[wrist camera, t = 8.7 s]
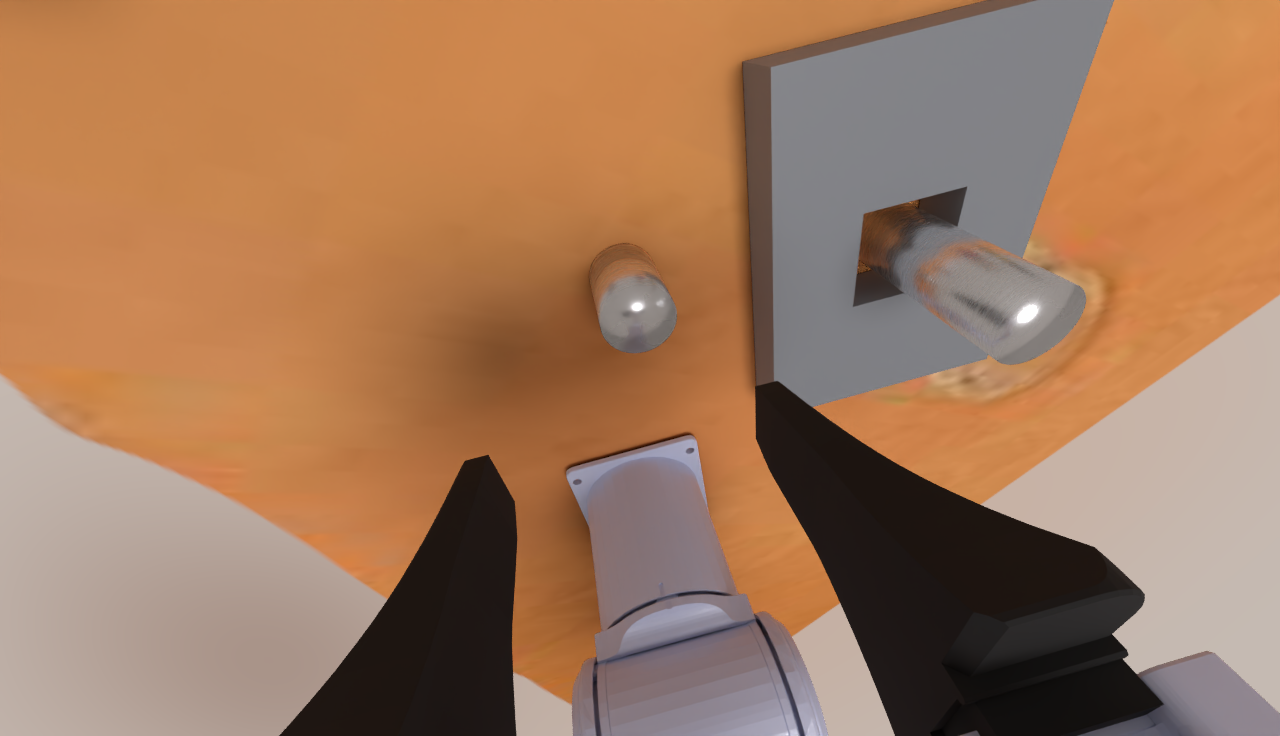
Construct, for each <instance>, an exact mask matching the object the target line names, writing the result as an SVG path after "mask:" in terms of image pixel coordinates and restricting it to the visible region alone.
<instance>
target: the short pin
mask: <svg viewBox="0 0 1280 736" xmlns="http://www.w3.org/2000/svg"><path fill="white" fill-rule="evenodd" d="M589 280H590V285H591V289H592V293H593V298H594V302H595V306H596V311H597V315H598V320H599V324H600V328H601V332H602V335H603V337H604V338H605V340H606V341H607V342H608V343H609V344H610V345H611V346H612V347H614V348H616V349H618V350H620V351H623V352H627V353H641V352H646V351H649V350H652V349H654V348H656V347H658V346H659V345H661V344H662V343H663V342H664V341H665V340H667V338H668V337H669V336H670V335H671V333H672V332H673V330H674V327H675V325H676V320H677V310H676V306H675V304H674V302H673V300H672V298H671V296H670V294H669V292H668V290H667V288H666V286H665V284H664V282H663V280H662V278H661V276H660V274H659V272H658V270H657V268H656V266H655V264H654V262H653V260H652V259H651V257H650V255H649V254H648V253H647V252H646V251H645V250H643V249H642V248H640V247H638V246H636V245H633V244H625V243H623V244H616V245H613V246H610V247H608V248H606V249H604V250H603V251H602V252H600V253H599V254H598V255H597V257H596V258H595V259H594V261H593V263H592V265H591V268H590V273H589Z"/></svg>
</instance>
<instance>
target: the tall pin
mask: <svg viewBox="0 0 1280 736" xmlns="http://www.w3.org/2000/svg"><path fill="white" fill-rule="evenodd" d="M858 260H860V261H861V262H862V263H864V264H865V265H866V266H868V267H869V268H871V269H872V270H873V271H875V272H876V273H877V274H879V275H880V276H882V277H883V278H884V279H886V280H887V281H888V282H890V283H891V284H892V285H894V286H895V287H897V288H898V289H899V290H901V291H902V292H903V293H905V294H906V295H908V296H909V297H910V298H912V299H913V300H914V301H916V302H917V303H918V304H920V305H921V306H923V307H924V308H925V309H927V310H928V311H929V312H931V313H932V314H934V315H935V316H936V317H938V318H939V319H940V320H942V321H943V322H944V323H946V324H947V325H949V326H950V327H951V328H953V329H954V330H955V331H957V332H958V333H960V334H961V335H962V336H964V337H965V338H966V339H968V340H969V341H971V342H972V343H973V344H975V345H976V346H977V347H979V348H980V349H981V350H983V351H984V352H986V353H987V354H988V355H990V356H991V357H992V358H994V359H995V360H997V361H998V362H1000V363H1002V364H1008V365H1011V364H1019V363H1023V362H1026V361H1029V360H1032V359H1034V358H1036V357H1038V356H1040V355H1042V354H1043V353H1045V352H1047V351H1048V350H1050V349H1051V348H1052V347H1054V346H1055V345H1056V344H1058V343H1059V342H1060V341H1061V340H1062V339H1063V338H1064V337H1065V336H1066V335H1067V334H1068V333H1069V332H1070V331H1071V330H1072V329H1073V327H1074V326H1075V325H1076V323H1077V322H1078V320H1079V319H1080V317H1081V315H1082V313H1083V310H1084V308H1085V304H1086V295H1085V292H1084V290H1083V289H1082V288H1081V287H1080V286H1078V285H1076V284H1074V283H1072V282H1070V281H1068V280H1066V279H1064V278H1062V277H1060V276H1058V275H1056V274H1054V273H1052V272H1049V271H1047V270H1045V269H1043V268H1041V267H1039V266H1037V265H1035V264H1033V263H1031V262H1029V261H1027V260H1025V259H1023V258H1021V257H1019V256H1016V255H1014V254H1012V253H1010V252H1008V251H1006V250H1004V249H1002V248H1000V247H998V246H996V245H994V244H992V243H990V242H988V241H986V240H983V239H981V238H979V237H977V236H975V235H973V234H971V233H969V232H967V231H965V230H963V229H961V228H959V227H957V226H955V225H953V224H950V223H948V222H946V221H944V220H942V219H940V218H938V217H936V216H934V215H932V214H930V213H928V212H926V211H924V210H922V209H920V208H917V207H915V206H913V205H911V204H909V203H907V202H906V203H903V204H899V205H895V206H891V207H887V208H884V209H880V210H876V211H872V212H868V213H865V214H864V215H863V224H862V232H861V241H860V250H859V258H858Z"/></svg>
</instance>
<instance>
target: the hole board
mask: <svg viewBox="0 0 1280 736" xmlns="http://www.w3.org/2000/svg"><path fill="white" fill-rule="evenodd" d="M1113 2H1114V0H987V1H983V2H979V3H975V4H971V5H967V6H963V7H959V8H955V9H951V10H947V11H943V12H939V13H935V14H931V15H927V16H923V17H919V18H915V19H911V20H907V21H903V22H899V23H895V24H891V25H887V26H883V27H879V28H875V29H871V30H867V31H863V32H859V33H855V34H851V35H847V36H843V37H839V38H835V39H831V40H827V41H823V42H819V43H815V44H811V45H807V46H803V47H799V48H795V49H791V50H787V51H783V52H779V53H775V54H771V55H767V56H763V57H759V58H755V59H751V60H747V61H743V83H744V106H745V130H746V154H747V177H748V201H749V225H750V249H751V272H752V296H753V320H754V343H755V367H756V386H758V385H762V384H766V383H770V382H774V381H779V382H780V383H782V384H783V385H784V386H786V387H787V388H788V389H789V390H791V391H792V392H793V393H794V394H796V395H797V396H798V397H800V398H801V399H802V400H803V401H805V402H806V403H807V404H809V405H810V406H811V407H814V406H818V405H821V404H825V403H828V402H832V401H836V400H839V399H843V398H847V397H850V396H854V395H857V394H861V393H865V392H868V391H872V390H875V389H879V388H883V387H886V386H890V385H893V384H897V383H901V382H904V381H908V380H911V379H915V378H919V377H922V376H926V375H930V374H933V373H937V372H940V371H944V370H948V369H951V368H955V367H958V366H962V365H966V364H969V363H973V362H976V361H980V360H984V359H987V356H988V354H987V353H986V352H984V351H983V350H981V349H980V348H979V347H977V346H976V345H975V344H973V343H972V342H971V341H969V340H968V339H966V338H965V337H964V336H962V335H961V334H960V333H958V332H957V331H955V330H954V329H953V328H951V327H950V326H949V325H947V324H946V323H944V322H943V321H942V320H940V319H939V318H938V317H936V316H935V315H934V314H932V313H931V312H929V311H928V310H927V309H925V308H924V307H923V306H921V305H920V304H918V303H917V302H916V301H914V300H913V299H912V298H910V297H909V296H908V295H906V294H905V293H903V292H902V291H901V290H899V289H898V288H897V287H895V286H894V285H892V284H891V283H890V282H888V281H887V280H886V279H884V278H883V277H882V276H880V275H879V274H877V273H876V272H875V271H873V270H871V271H867V272H863V273H860V274H857V267H858V258H859V250H860V241H861V232H862V224H863V215H864V214H865V213H868V212H872V211H876V210H880V209H884V208H887V207H891V206H895V205H899V204H903V203H906V202H910V201H914V200H918V199H920V204H919V208H920V209H922V210H924V211H926V212H928V213H930V214H932V215H934V216H936V217H938V218H940V219H942V220H944V221H946V222H948V223H950V224H953V225H955V226H957V227H959V228H961V229H963V230H965V231H967V232H969V233H971V234H973V235H975V236H977V237H979V238H981V239H983V240H986V241H988V242H990V243H992V244H994V245H996V246H998V247H1000V248H1002V249H1004V250H1006V251H1008V252H1010V253H1012V254H1014V255H1016V256H1019V257H1021V258H1023V255H1024V252H1025V249H1026V246H1027V243H1028V241H1029V238H1030V235H1031V232H1032V229H1033V227H1034V224H1035V221H1036V218H1037V215H1038V213H1039V210H1040V207H1041V204H1042V201H1043V198H1044V196H1045V193H1046V190H1047V187H1048V184H1049V182H1050V179H1051V176H1052V173H1053V170H1054V167H1055V165H1056V162H1057V159H1058V156H1059V153H1060V151H1061V148H1062V145H1063V142H1064V139H1065V137H1066V134H1067V131H1068V128H1069V125H1070V122H1071V120H1072V117H1073V114H1074V111H1075V108H1076V106H1077V103H1078V100H1079V97H1080V94H1081V92H1082V89H1083V86H1084V83H1085V80H1086V77H1087V75H1088V72H1089V69H1090V66H1091V63H1092V61H1093V58H1094V55H1095V52H1096V49H1097V47H1098V44H1099V41H1100V38H1101V35H1102V32H1103V30H1104V27H1105V24H1106V21H1107V18H1108V16H1109V13H1110V10H1111V7H1112V4H1113Z"/></svg>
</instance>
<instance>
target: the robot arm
mask: <svg viewBox="0 0 1280 736" xmlns="http://www.w3.org/2000/svg"><path fill="white" fill-rule="evenodd" d="M755 398H756V440H757V442H758V444H759V447H760V449H761V452H762V454H763V456H764V459H765V461H766V463H767V465H768V468H769V470H770V472H771V474H772V476H773V477H774V479H775V481H776V483H777V484H778V486H779V488H780V489H781V491H782V493H783V495H784V496H785V498H786V500H787V502H788V503H789V505H790V507H791V508H792V510H793V512H794V513H795V515H796V517H797V519H798V520H799V522H800V524H801V525H802V527H803V529H804V531H805V532H806V534H807V536H808V537H809V539H810V541H811V543H812V544H813V546H814V548H815V550H816V552H817V554H818V556H819V558H820V560H821V562H822V564H823V566H824V568H825V570H826V573H827V575H828V577H829V579H830V581H831V583H832V586H833V588H834V590H835V592H836V594H837V596H838V599H839V601H840V603H841V605H842V608H843V610H844V612H845V614H846V617H847V619H848V621H849V624H850V626H851V628H852V630H853V633H854V635H855V637H856V640H857V642H858V645H859V647H860V649H861V652H862V654H863V656H864V659H865V661H866V663H867V666H868V668H869V671H870V673H871V676H872V678H873V681H874V683H875V685H876V688H877V691H878V693H879V696H880V698H881V701H882V703H883V706H884V708H885V711H886V713H887V716H888V718H889V721H890V724H891V726H892V729H893V731H894V734H895V736H1280V713H1278V711H1276V710H1275V709H1274V708H1273V707H1272V706H1271V705H1270V704H1269V703H1268V702H1267V701H1266V700H1265V699H1264V698H1262V697H1261V696H1260V695H1259V694H1258V693H1257V692H1256V691H1255V690H1254V689H1253V688H1252V687H1251V686H1249V684H1247V683H1246V682H1245V681H1244V680H1243V679H1242V678H1241V677H1240V676H1239V675H1238V674H1237V673H1236V672H1235V671H1233V670H1232V669H1231V668H1230V667H1229V666H1228V665H1227V664H1226V663H1225V662H1224V661H1223V660H1222V659H1221V658H1219V657H1218V656H1217V655H1216V654H1215V653H1212V652H1209V651H1205V652H1201V653H1198V654H1195V655H1192V656H1188V657H1184V658H1181V659H1178V660H1174V661H1171V662H1168V663H1164V664H1161V665H1158V666H1155V667H1152V668H1149V669H1147V670H1145V671H1143V672H1140V673H1139V674H1136V673H1135V672H1134V671H1133V670H1132V669H1131V668H1130V667H1129V666H1128V665H1127V664H1126V662H1124V660H1123V658H1125V657H1127V656H1128V652H1127V650H1126V649H1125V648H1124V647H1123V645H1122V644H1120V642H1119V641H1118V640H1117V639H1116V638H1115V637H1114V636H1113V635H1112V633H1114V632H1115V631H1116V630H1117V629H1118V628H1119V627H1120V626H1122V625H1123V624H1124V623H1125V622H1126V621H1127V620H1128V619H1130V618H1131V617H1132V616H1133V615H1134V614H1135V613H1136V612H1137V611H1138V610H1139V609H1140V608H1141V607H1142V605H1143V603H1144V599H1145V597H1144V596H1145V594H1144V593H1143V592H1142V591H1141V589H1140V588H1138V587H1137V586H1136V585H1135V584H1134V583H1133V582H1132V581H1131V580H1130V579H1129V578H1128V577H1127V576H1126V575H1125V574H1124V573H1123V572H1122V571H1121V570H1120V569H1118V568H1117V567H1116V566H1115V565H1114V564H1113V563H1112V562H1111V561H1110V560H1109V559H1107V558H1106V557H1105V556H1104V555H1103V554H1102V553H1101V552H1099V551H1098V550H1097V549H1096V548H1095V547H1092V546H1089V545H1087V544H1084V543H1081V542H1078V541H1075V540H1072V539H1069V538H1066V537H1063V536H1060V535H1058V534H1055V533H1052V532H1049V531H1046V530H1043V529H1040V528H1037V527H1035V526H1032V525H1029V524H1026V523H1024V522H1021V521H1019V520H1016V519H1014V518H1011V517H1009V516H1006V515H1004V514H1001V513H999V512H996V511H994V510H991V509H988V508H986V507H984V506H982V505H980V504H977V503H975V502H973V501H971V500H968V499H966V498H964V497H962V496H960V495H958V494H955V493H953V492H951V491H949V490H947V489H944V488H942V487H940V486H938V485H936V484H934V483H932V482H930V481H928V480H926V479H924V478H922V477H920V476H918V475H916V474H915V473H913V472H911V471H909V470H907V469H905V468H904V467H902V466H900V465H898V464H896V463H895V462H893V461H891V460H890V459H888V458H886V457H885V456H883V455H881V454H880V453H878V452H876V451H875V450H873V449H872V448H870V447H868V446H867V445H865V444H864V443H862V442H861V441H859V440H858V439H856V438H855V437H853V436H852V435H850V434H849V433H847V432H846V431H844V430H843V429H842V428H840V427H839V426H837V425H836V424H834V423H833V422H832V421H830V420H829V419H827V418H826V417H825V416H823V415H822V414H821V413H819V412H818V411H817V410H815V409H814V408H813V407H811V406H810V405H809V404H807V403H806V402H805V401H803V400H802V399H801V398H800V397H798V396H797V395H796V394H794V393H793V392H792V391H791V390H789V389H788V388H787V387H786V386H784V385H783V384H782V383H780V382H779V381H774V382H770V383H766V384H762V385H758V386H755ZM688 448H690V449H688ZM566 477H567V480H568V482H569V485H570V487H571V489H572V491H573V493H574V495H575V498H576V500H577V502H578V504H579V506H580V508H581V511H582V513H583V515H584V517H585V519H586V521H587V524H588V526H589V528H590V537H591V545H592V554H593V562H594V571H595V580H596V588H597V597H598V605H599V614H600V622H601V631H602V632H599V633H596V634H595V645H596V654H597V657H594V658H590V659H587V660H586V661H584V663H583V665H582V667H581V671H580V672H579V674H578V676H577V678H576V680H575V682H574V687H573V697H572V722H573V736H828V732H827V728H826V724H825V720H824V717H823V713H822V710H821V707H820V704H819V701H818V698H817V695H816V692H815V689H814V687H813V684H812V681H811V679H810V676H809V674H808V671H807V668H806V666H805V664H804V661H803V659H802V657H801V655H800V652H799V650H798V648H797V646H796V644H795V642H794V640H793V639H792V637H791V635H790V633H789V632H788V630H787V629H786V628H785V626H784V625H783V624H782V623H781V622H779V621H778V620H776V619H774V618H773V617H772V616H771V615H770V614H769V613H767V612H759V613H755V614H754V613H753V611H752V608H751V605H750V603H749V600H748V597H747V595H746V594H738V592H737V589H736V586H735V583H734V581H733V578H732V575H731V572H730V570H729V567H728V564H727V561H726V559H725V556H724V553H723V550H722V548H721V545H720V542H719V539H718V536H717V534H716V531H715V528H714V525H713V523H712V520H711V517H710V514H709V512H708V506H707V500H706V494H705V488H704V482H703V476H702V470H701V464H700V458H699V452H698V446H697V441H696V439H695V437H694V436H692V435H686V436H683V437H679V438H676V439H672V440H668V441H665V442H661V443H657V444H654V445H650V446H647V447H643V448H639V449H636V450H632V451H629V452H625V453H621V454H618V455H614V456H610V457H607V458H603V459H600V460H596V461H592V462H589V463H585V464H582V465H578V466H574V467H571V468H569V469H568V470H567V472H566ZM576 479H578V480H576ZM516 553H517V526H516V512H515V501H514V500H513V498H512V496H511V494H510V492H509V491H508V489H507V487H506V485H505V484H504V482H503V480H502V478H501V476H500V475H499V473H498V471H497V469H496V468H495V466H494V464H493V462H492V461H491V459H490V457H489V455H486V456H482V457H478V458H474V459H470V460H466V461H465V462H464V463H463V465H462V467H461V469H460V471H459V473H458V475H457V477H456V479H455V481H454V483H453V485H452V487H451V489H450V491H449V493H448V495H447V497H446V499H445V501H444V503H443V505H442V507H441V509H440V511H439V513H438V515H437V517H436V519H435V520H434V522H433V524H432V526H431V528H430V530H429V532H428V534H427V535H426V537H425V539H424V541H423V543H422V545H421V546H420V548H419V550H418V551H417V553H416V555H415V556H414V558H413V560H412V561H411V563H410V565H409V567H408V568H407V570H406V572H405V573H404V575H403V577H402V578H401V580H400V581H399V583H398V585H397V586H396V588H395V589H394V591H393V592H392V594H391V595H390V597H389V598H388V600H387V602H386V603H385V604H384V606H383V607H382V609H381V610H380V612H379V613H378V615H377V616H376V618H375V619H374V620H373V622H372V623H371V625H370V626H369V627H368V629H367V630H366V631H365V633H364V634H363V635H362V637H361V638H360V639H359V641H358V642H357V644H356V645H355V646H354V648H353V649H352V650H351V651H350V652H349V654H348V655H347V656H346V658H345V659H344V660H343V662H342V663H341V664H340V665H339V667H338V668H337V669H336V671H335V672H334V673H333V674H332V675H331V677H330V678H329V679H328V680H327V681H326V683H325V684H324V685H323V686H322V687H321V689H320V690H319V691H318V692H317V693H316V695H315V696H314V697H313V698H312V699H311V701H310V702H309V703H308V704H307V705H306V706H305V707H304V709H303V710H302V711H301V712H300V713H299V714H298V715H297V717H296V718H295V719H294V720H293V721H292V722H291V723H290V725H289V726H288V727H287V728H286V729H285V730H284V731H283V732H282V734H280V735H279V736H516V724H515V705H514V687H513V661H512V620H513V604H514V587H515V571H516Z"/></svg>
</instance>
